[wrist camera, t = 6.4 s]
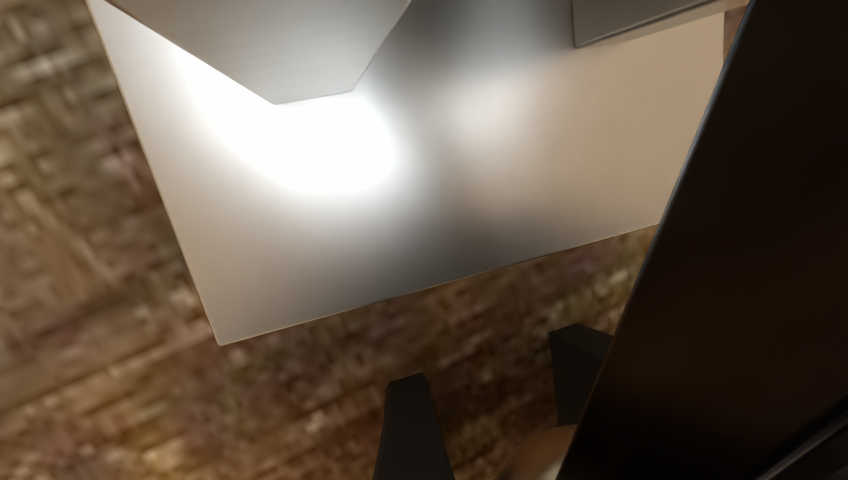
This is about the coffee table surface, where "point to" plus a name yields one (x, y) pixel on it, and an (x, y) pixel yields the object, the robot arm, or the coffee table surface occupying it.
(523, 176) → the bracket
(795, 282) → the lever
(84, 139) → the coffee table surface
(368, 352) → the coffee table surface
